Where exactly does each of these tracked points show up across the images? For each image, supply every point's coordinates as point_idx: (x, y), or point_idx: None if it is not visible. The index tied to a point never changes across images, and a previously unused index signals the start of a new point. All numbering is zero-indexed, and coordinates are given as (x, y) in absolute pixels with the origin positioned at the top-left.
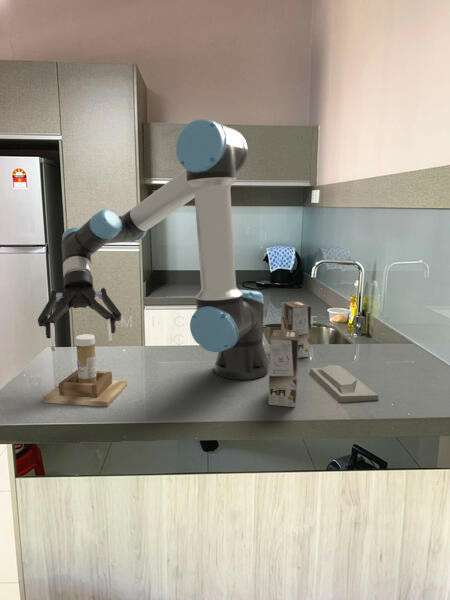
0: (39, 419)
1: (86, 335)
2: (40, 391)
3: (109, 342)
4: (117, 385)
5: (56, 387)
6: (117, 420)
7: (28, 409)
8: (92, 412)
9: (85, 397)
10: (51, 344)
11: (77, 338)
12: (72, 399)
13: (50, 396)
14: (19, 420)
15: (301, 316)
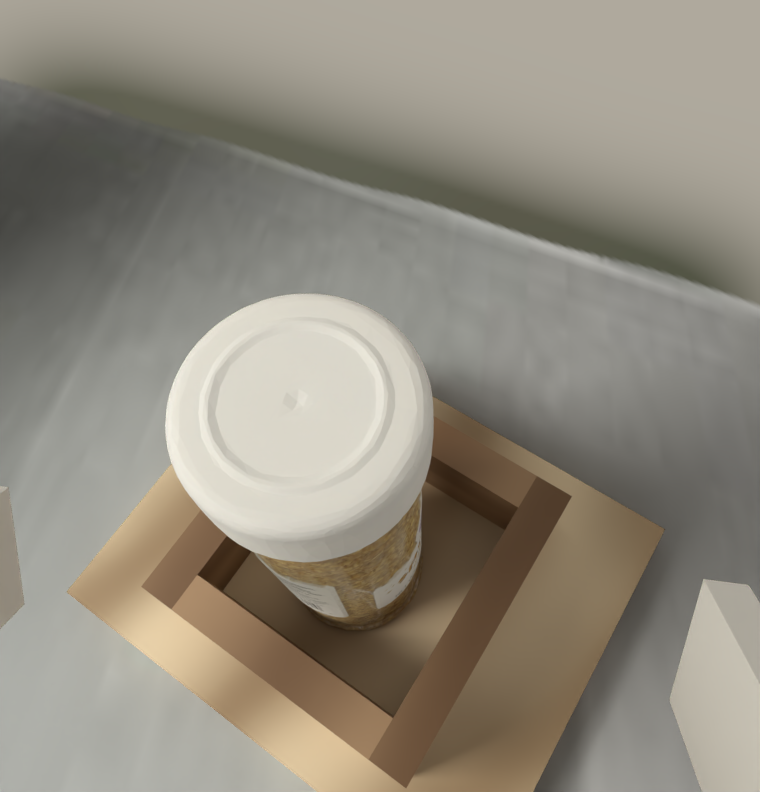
0: (651, 319)
1: (265, 438)
2: (693, 774)
3: (7, 520)
4: (158, 536)
5: (576, 695)
6: (296, 185)
7: (731, 468)
8: (385, 298)
9: None
10: (748, 598)
11: (409, 355)
12: (476, 422)
13: (613, 529)
14: (755, 346)
15: None
